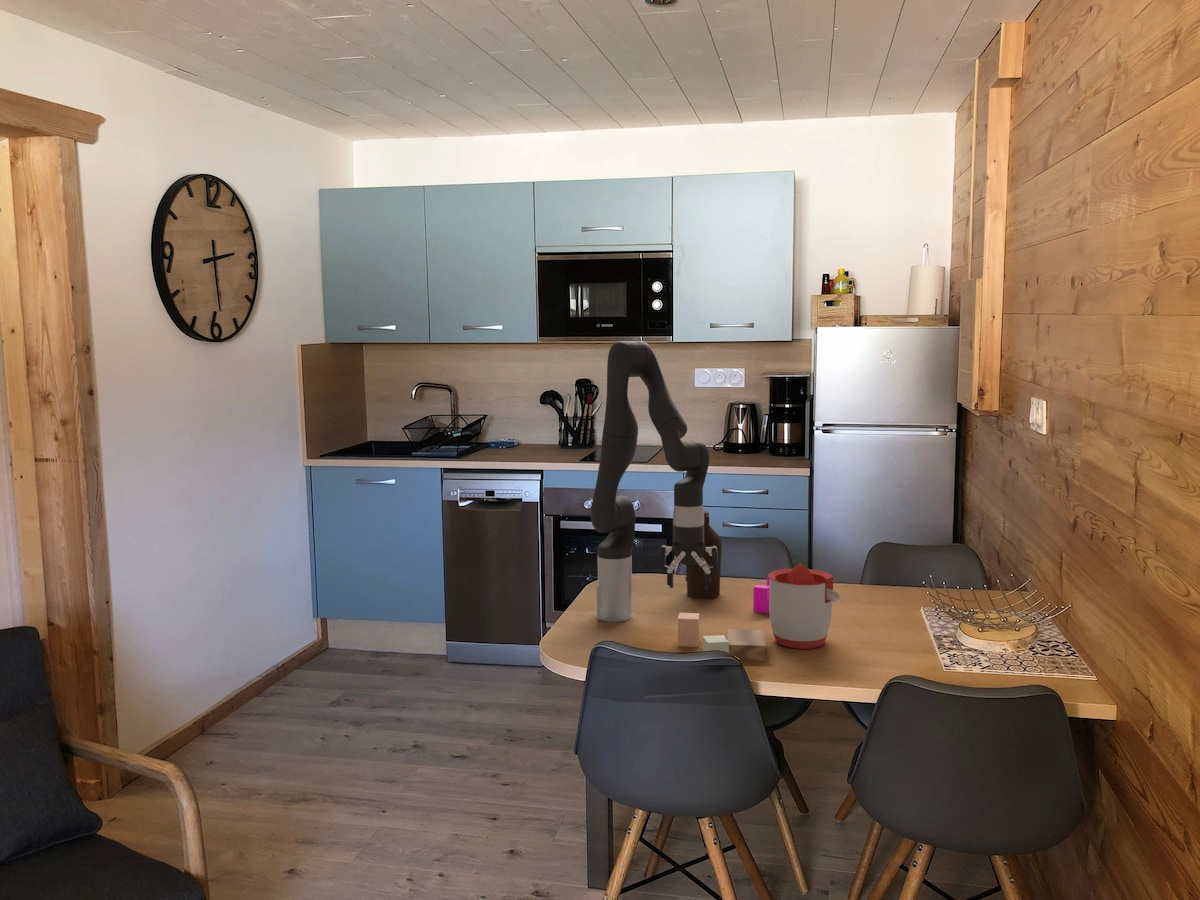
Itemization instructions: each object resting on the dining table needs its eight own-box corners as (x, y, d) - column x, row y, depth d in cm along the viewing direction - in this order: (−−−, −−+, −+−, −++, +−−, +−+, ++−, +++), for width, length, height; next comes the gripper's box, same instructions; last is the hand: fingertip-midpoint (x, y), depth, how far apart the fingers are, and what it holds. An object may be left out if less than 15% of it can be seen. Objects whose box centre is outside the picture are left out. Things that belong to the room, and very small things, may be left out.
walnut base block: (727, 661, 223) (727, 644, 223) (727, 644, 235) (727, 629, 234) (766, 662, 222) (766, 645, 221) (763, 645, 234) (764, 630, 233)
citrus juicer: (829, 658, 223) (830, 575, 221) (758, 647, 232) (759, 567, 229) (846, 639, 237) (848, 560, 234) (779, 629, 245) (780, 553, 243)
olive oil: (729, 596, 277) (729, 512, 274) (705, 603, 270) (705, 517, 267) (701, 589, 285) (701, 507, 282) (677, 596, 278) (677, 512, 275)
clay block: (678, 646, 233) (677, 618, 232) (679, 639, 238) (679, 612, 237) (698, 646, 232) (698, 619, 232) (699, 640, 237) (699, 613, 237)
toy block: (775, 616, 257) (776, 589, 257) (753, 613, 260) (753, 587, 259) (790, 602, 271) (790, 576, 270) (769, 599, 274) (769, 574, 273)
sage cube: (707, 663, 221) (707, 642, 220) (703, 656, 226) (702, 636, 225) (728, 662, 221) (728, 641, 221) (723, 655, 226) (723, 635, 226)
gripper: (658, 525, 229) (658, 591, 231) (717, 526, 227) (717, 592, 229) (660, 519, 236) (661, 583, 238) (718, 520, 234) (718, 584, 236)
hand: (689, 587), depth 234 cm, fingers open, 8 cm apart
